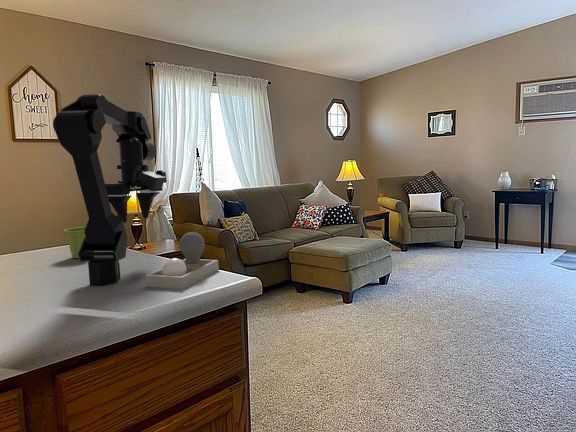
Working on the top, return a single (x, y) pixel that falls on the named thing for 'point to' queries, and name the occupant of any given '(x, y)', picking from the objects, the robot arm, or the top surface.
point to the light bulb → (192, 248)
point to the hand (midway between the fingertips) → (135, 220)
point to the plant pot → (75, 240)
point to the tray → (182, 281)
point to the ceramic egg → (174, 267)
